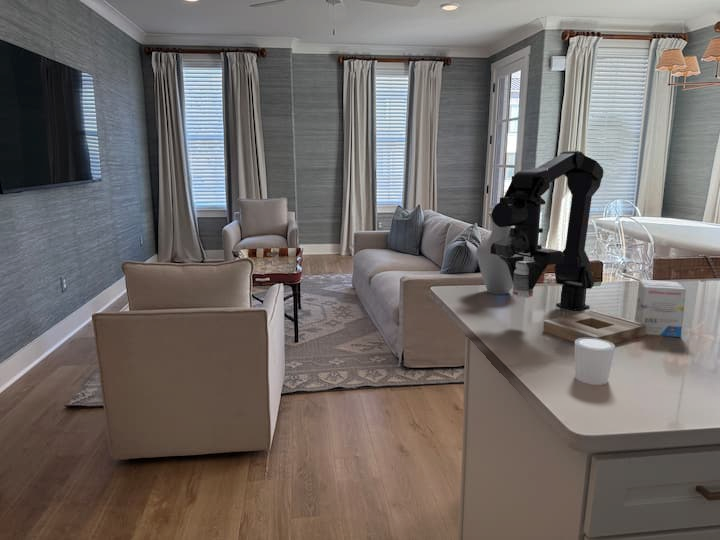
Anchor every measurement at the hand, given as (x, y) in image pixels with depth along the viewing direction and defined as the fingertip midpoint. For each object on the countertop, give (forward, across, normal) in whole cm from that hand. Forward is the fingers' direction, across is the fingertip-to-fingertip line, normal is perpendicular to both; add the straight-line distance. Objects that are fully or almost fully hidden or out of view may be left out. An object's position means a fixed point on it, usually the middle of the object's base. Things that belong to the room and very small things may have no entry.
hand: (523, 286), depth 127 cm
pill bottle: (+2, 0, 0) cm, 2 cm away
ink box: (+10, +20, +24) cm, 33 cm away
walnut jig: (+10, +14, +9) cm, 19 cm away
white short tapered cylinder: (+10, +31, -14) cm, 35 cm away
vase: (+10, -27, +18) cm, 34 cm away
